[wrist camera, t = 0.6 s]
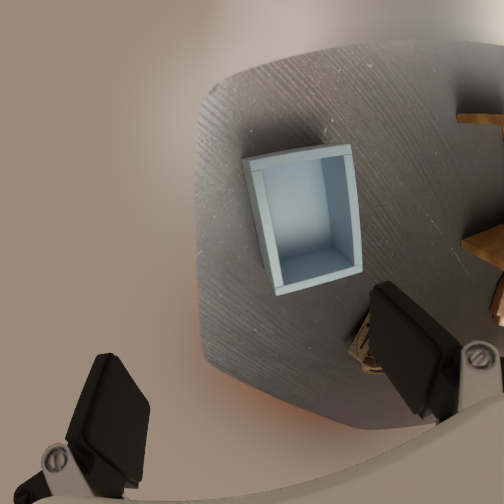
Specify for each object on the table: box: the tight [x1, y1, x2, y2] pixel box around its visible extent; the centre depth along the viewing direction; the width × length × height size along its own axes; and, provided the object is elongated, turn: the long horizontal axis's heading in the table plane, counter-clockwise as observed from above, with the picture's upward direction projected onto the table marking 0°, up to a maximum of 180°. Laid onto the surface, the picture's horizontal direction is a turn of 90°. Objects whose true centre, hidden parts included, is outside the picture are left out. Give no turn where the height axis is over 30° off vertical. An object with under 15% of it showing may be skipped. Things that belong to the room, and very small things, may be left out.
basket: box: [241, 144, 362, 296], centre depth 24 cm, size 11×8×6 cm
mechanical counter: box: [348, 311, 385, 374], centre depth 31 cm, size 7×13×10 cm
